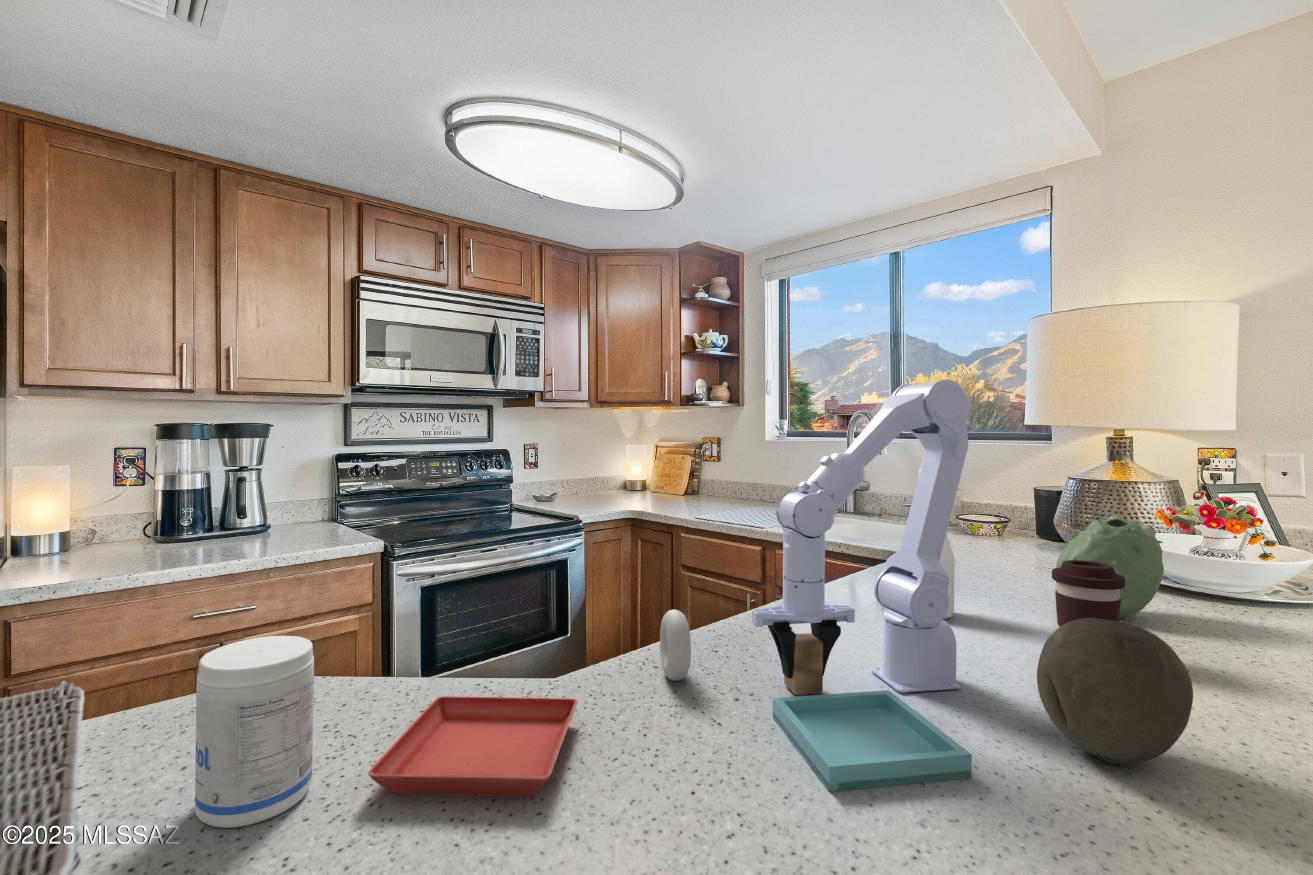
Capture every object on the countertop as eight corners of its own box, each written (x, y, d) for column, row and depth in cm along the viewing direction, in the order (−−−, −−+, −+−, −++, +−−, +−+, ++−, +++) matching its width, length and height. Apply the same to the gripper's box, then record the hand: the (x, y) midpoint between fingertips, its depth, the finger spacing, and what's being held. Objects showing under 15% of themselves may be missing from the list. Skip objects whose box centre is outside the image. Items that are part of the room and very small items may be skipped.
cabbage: (1036, 607, 127) (1037, 513, 127) (1108, 602, 131) (1109, 511, 131) (1107, 630, 112) (1108, 523, 112) (1186, 624, 116) (1187, 521, 116)
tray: (888, 709, 79) (888, 690, 79) (971, 777, 63) (971, 754, 63) (772, 717, 76) (773, 697, 76) (828, 791, 61) (829, 766, 61)
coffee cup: (1058, 659, 97) (1059, 567, 97) (1045, 640, 106) (1046, 555, 106) (1133, 668, 93) (1134, 572, 93) (1112, 648, 103) (1113, 560, 103)
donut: (693, 691, 84) (694, 620, 84) (669, 693, 83) (669, 621, 83) (679, 664, 94) (680, 600, 94) (657, 665, 93) (658, 601, 93)
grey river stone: (1208, 806, 58) (1210, 653, 58) (1036, 763, 66) (1038, 627, 66) (1178, 744, 70) (1179, 616, 70) (1035, 713, 78) (1037, 598, 78)
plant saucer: (437, 719, 76) (437, 693, 76) (578, 722, 75) (579, 696, 75) (363, 808, 58) (363, 774, 58) (549, 812, 57) (549, 778, 57)
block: (810, 681, 87) (810, 633, 87) (822, 693, 83) (822, 642, 83) (784, 683, 86) (784, 634, 86) (795, 695, 82) (795, 644, 82)
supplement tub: (183, 803, 58) (184, 651, 58) (292, 762, 65) (293, 627, 65) (211, 848, 52) (212, 678, 52) (329, 798, 59) (329, 648, 59)
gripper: (763, 586, 79) (763, 689, 79) (866, 583, 82) (865, 682, 82) (747, 574, 86) (746, 668, 86) (841, 571, 89) (841, 663, 89)
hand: (803, 674), depth 84 cm, fingers closed on block, 4 cm apart
